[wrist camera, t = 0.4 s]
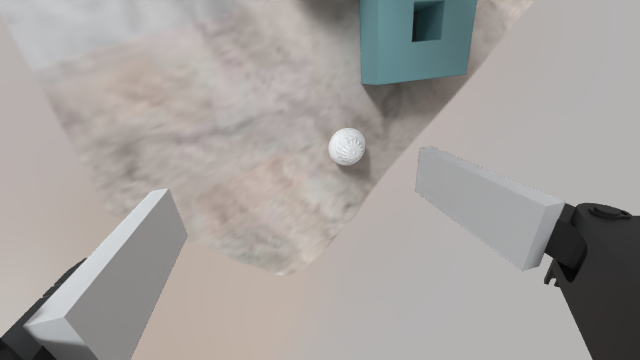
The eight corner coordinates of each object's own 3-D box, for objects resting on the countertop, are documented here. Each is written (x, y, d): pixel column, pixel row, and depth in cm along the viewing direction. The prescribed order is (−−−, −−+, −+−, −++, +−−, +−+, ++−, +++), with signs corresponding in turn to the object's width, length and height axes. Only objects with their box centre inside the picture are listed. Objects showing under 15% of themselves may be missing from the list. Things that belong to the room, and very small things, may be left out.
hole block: (359, -27, 32) (378, -48, 27) (449, -30, 34) (484, -50, 29) (361, 83, 38) (377, 84, 32) (438, 74, 40) (465, 74, 35)
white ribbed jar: (361, 149, 42) (379, 162, 36) (331, 164, 42) (343, 179, 36) (350, 117, 40) (367, 125, 33) (318, 133, 39) (328, 144, 33)
